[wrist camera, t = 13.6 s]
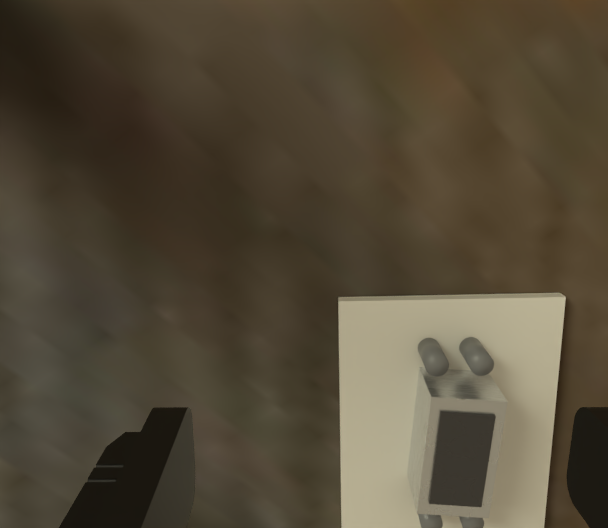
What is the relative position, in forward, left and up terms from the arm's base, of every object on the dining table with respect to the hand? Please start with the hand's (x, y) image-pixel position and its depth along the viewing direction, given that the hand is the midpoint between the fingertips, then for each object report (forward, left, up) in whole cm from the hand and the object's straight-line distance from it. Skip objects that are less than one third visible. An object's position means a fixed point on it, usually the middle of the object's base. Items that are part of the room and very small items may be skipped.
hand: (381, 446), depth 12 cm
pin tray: (+8, -16, -29) cm, 34 cm away
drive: (+8, -16, -28) cm, 33 cm away
